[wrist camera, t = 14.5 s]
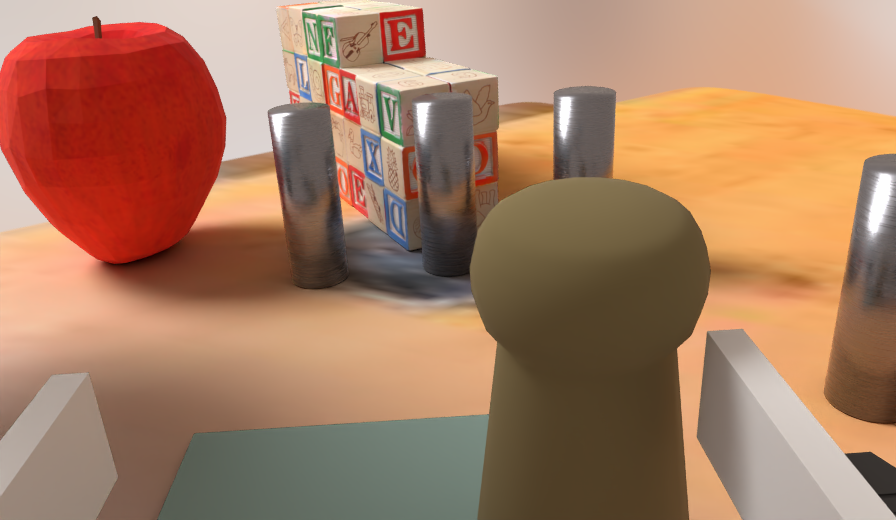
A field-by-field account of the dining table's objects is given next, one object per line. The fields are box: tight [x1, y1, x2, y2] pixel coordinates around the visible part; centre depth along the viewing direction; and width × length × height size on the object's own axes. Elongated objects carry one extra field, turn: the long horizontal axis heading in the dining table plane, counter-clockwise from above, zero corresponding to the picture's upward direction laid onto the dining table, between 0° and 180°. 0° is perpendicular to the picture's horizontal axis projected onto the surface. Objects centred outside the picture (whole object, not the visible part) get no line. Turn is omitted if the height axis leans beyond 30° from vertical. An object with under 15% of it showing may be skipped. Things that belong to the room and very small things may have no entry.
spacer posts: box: [268, 86, 896, 423], centre depth 33 cm, size 25×18×9 cm
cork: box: [470, 177, 711, 520], centre depth 19 cm, size 6×6×11 cm
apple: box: [0, 16, 226, 264], centre depth 43 cm, size 12×12×13 cm
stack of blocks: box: [276, 0, 499, 250], centre depth 51 cm, size 21×6×12 cm, turn 27°
